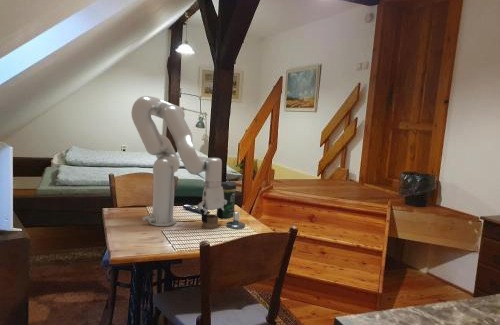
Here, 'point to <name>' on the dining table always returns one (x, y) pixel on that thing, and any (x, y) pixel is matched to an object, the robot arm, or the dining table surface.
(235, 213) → the post
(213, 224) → the collar
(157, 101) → the robot arm
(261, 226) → the dining table surface
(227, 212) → the coffee jar
